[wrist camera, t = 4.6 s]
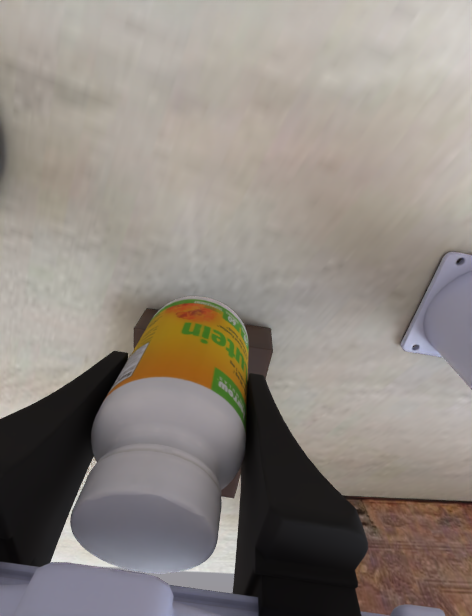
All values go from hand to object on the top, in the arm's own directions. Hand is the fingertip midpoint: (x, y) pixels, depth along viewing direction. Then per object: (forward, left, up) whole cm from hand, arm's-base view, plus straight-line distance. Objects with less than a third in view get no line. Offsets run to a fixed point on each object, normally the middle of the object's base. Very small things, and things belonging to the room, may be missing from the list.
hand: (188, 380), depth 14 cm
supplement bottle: (0, 0, -4) cm, 4 cm away
